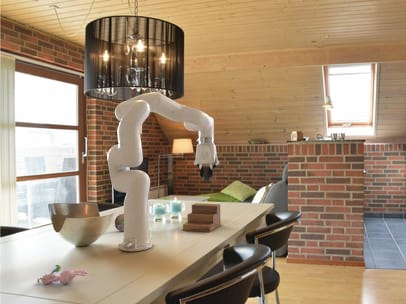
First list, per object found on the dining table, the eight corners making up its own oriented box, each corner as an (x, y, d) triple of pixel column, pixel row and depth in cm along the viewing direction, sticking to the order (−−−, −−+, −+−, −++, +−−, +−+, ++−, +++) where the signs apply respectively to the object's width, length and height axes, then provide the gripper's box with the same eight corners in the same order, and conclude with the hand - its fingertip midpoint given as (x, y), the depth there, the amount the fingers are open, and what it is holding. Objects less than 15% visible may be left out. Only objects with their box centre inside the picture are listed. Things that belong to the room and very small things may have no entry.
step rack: (209, 232, 167) (209, 209, 167) (182, 230, 171) (182, 208, 171) (220, 224, 183) (220, 204, 183) (195, 223, 187) (195, 203, 187)
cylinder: (209, 180, 174) (209, 166, 174) (201, 180, 175) (201, 166, 175) (211, 179, 178) (211, 166, 178) (204, 179, 179) (204, 166, 179)
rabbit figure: (34, 291, 102) (82, 284, 100) (31, 271, 102) (78, 263, 100) (48, 283, 108) (93, 276, 106) (45, 264, 108) (90, 257, 106)
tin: (117, 232, 168) (117, 215, 168) (113, 231, 170) (113, 214, 170) (143, 226, 180) (142, 210, 180) (139, 226, 182) (139, 210, 182)
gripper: (188, 141, 175) (188, 177, 175) (219, 140, 171) (220, 178, 171) (194, 141, 182) (194, 176, 182) (224, 141, 178) (224, 176, 178)
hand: (206, 176), depth 177 cm, fingers closed on cylinder, 4 cm apart
